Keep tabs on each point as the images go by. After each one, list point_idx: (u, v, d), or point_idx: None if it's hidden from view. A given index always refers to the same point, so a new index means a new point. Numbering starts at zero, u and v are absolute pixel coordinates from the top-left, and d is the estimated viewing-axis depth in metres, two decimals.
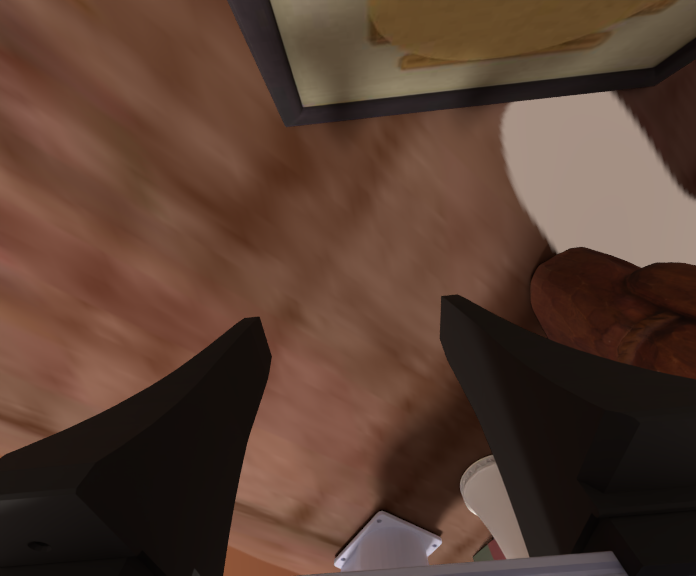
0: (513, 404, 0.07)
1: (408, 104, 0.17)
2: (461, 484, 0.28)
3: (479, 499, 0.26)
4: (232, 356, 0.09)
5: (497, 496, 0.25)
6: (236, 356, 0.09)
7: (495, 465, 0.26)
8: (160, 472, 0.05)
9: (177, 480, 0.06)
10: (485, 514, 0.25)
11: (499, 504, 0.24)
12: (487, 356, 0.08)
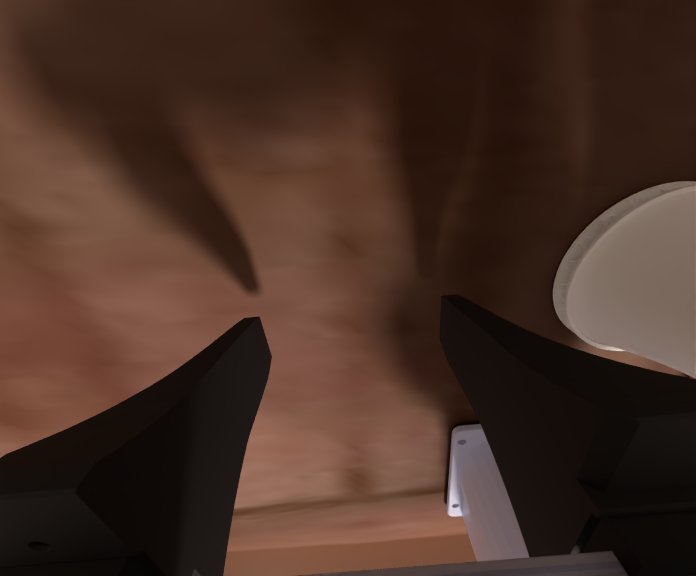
0: (513, 404, 0.07)
1: None
2: (561, 316, 0.13)
3: (608, 321, 0.11)
4: (232, 356, 0.09)
5: (647, 291, 0.10)
6: (236, 356, 0.09)
7: (606, 237, 0.11)
8: (160, 472, 0.05)
9: (177, 480, 0.06)
10: (639, 341, 0.11)
11: (661, 304, 0.09)
12: (487, 356, 0.08)
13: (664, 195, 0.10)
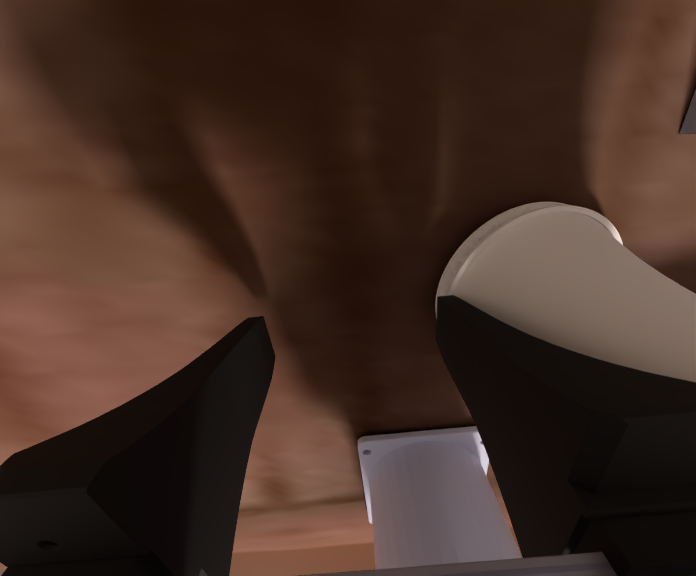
0: (506, 405, 0.07)
1: None
2: None
3: None
4: (237, 356, 0.09)
5: (505, 320, 0.09)
6: (241, 356, 0.09)
7: (471, 261, 0.10)
8: (168, 471, 0.05)
9: (184, 479, 0.06)
10: None
11: None
12: (482, 357, 0.08)
13: (520, 218, 0.10)
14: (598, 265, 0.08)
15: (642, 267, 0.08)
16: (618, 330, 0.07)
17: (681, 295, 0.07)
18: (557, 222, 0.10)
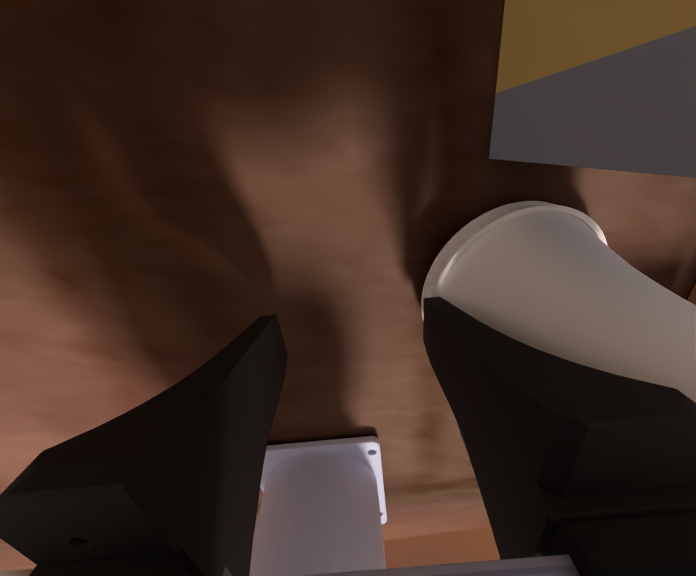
0: (484, 407, 0.07)
1: None
2: None
3: None
4: (254, 354, 0.09)
5: (487, 322, 0.09)
6: (257, 354, 0.09)
7: (453, 263, 0.10)
8: (194, 469, 0.05)
9: (209, 477, 0.06)
10: None
11: None
12: (462, 359, 0.08)
13: (501, 218, 0.10)
14: (577, 266, 0.08)
15: (621, 267, 0.08)
16: (595, 332, 0.07)
17: (658, 295, 0.07)
18: (538, 222, 0.10)
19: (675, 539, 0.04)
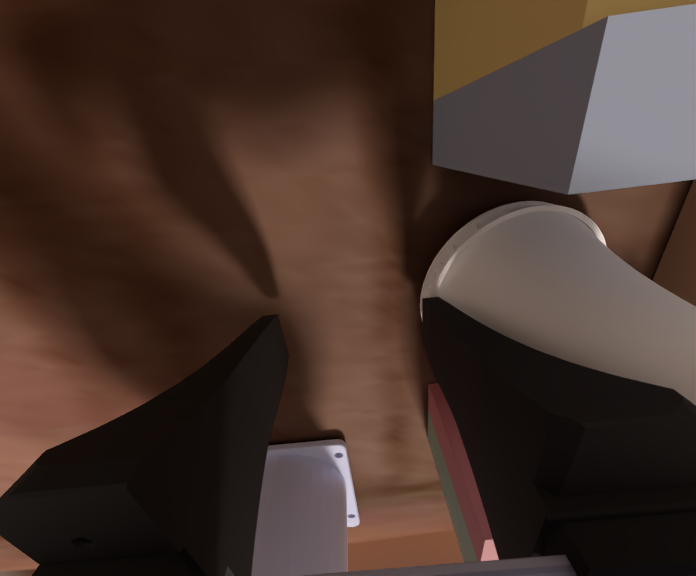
0: (482, 407, 0.07)
1: None
2: None
3: None
4: (255, 354, 0.09)
5: (486, 322, 0.09)
6: (258, 354, 0.09)
7: (452, 263, 0.10)
8: (197, 469, 0.05)
9: (211, 477, 0.06)
10: None
11: None
12: (460, 359, 0.08)
13: (500, 218, 0.10)
14: (575, 266, 0.08)
15: (619, 267, 0.08)
16: (594, 332, 0.07)
17: (656, 296, 0.07)
18: (537, 222, 0.10)
19: (671, 539, 0.04)
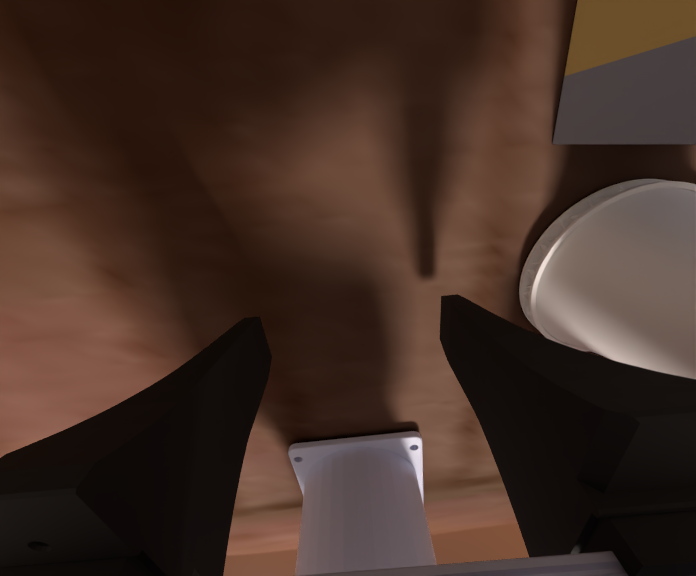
0: (513, 404, 0.07)
1: None
2: (529, 318, 0.13)
3: (570, 324, 0.11)
4: (232, 356, 0.09)
5: (603, 294, 0.10)
6: (236, 356, 0.09)
7: (564, 239, 0.11)
8: (160, 472, 0.05)
9: (177, 480, 0.06)
10: (599, 344, 0.10)
11: (615, 307, 0.09)
12: (487, 356, 0.08)
13: (620, 195, 0.10)
14: None
15: None
16: None
17: None
18: (661, 198, 0.10)
19: None
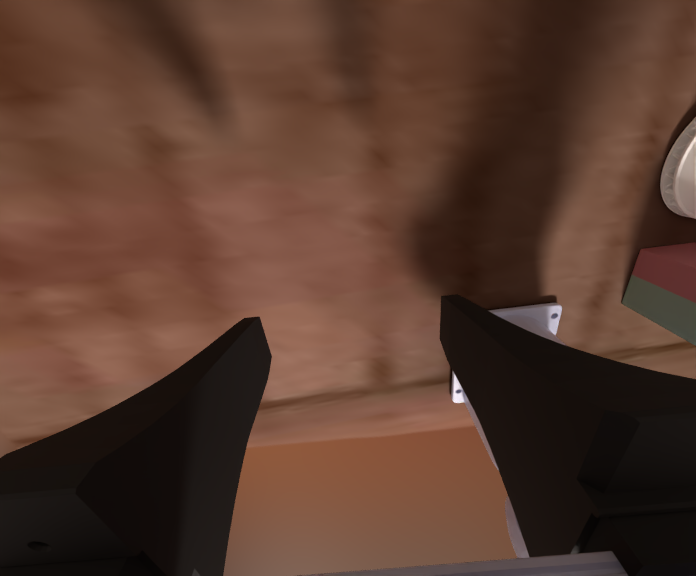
0: (513, 404, 0.07)
1: None
2: (665, 196, 0.18)
3: None
4: (232, 356, 0.09)
5: None
6: (236, 356, 0.09)
7: None
8: (160, 472, 0.05)
9: (177, 480, 0.06)
10: None
11: None
12: (487, 356, 0.08)
13: None
14: None
15: None
16: None
17: None
18: None
19: None
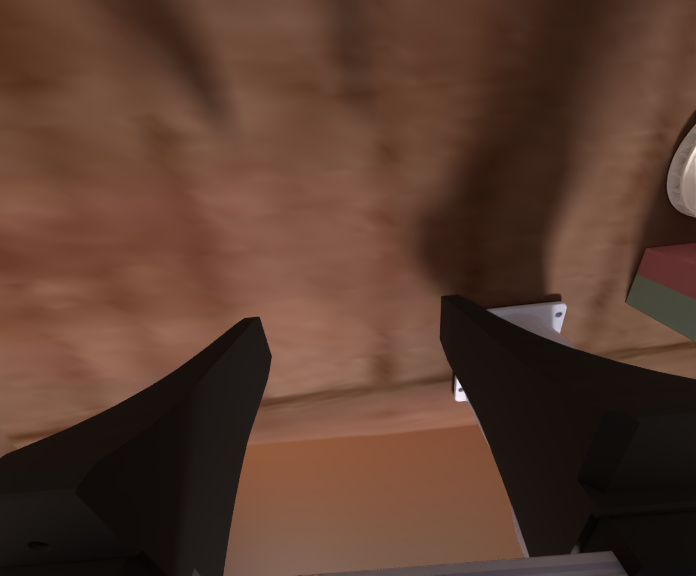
0: (513, 404, 0.07)
1: None
2: (671, 195, 0.18)
3: None
4: (232, 356, 0.09)
5: None
6: (236, 356, 0.09)
7: None
8: (160, 472, 0.05)
9: (177, 480, 0.06)
10: None
11: None
12: (487, 356, 0.08)
13: None
14: None
15: None
16: None
17: None
18: None
19: None
